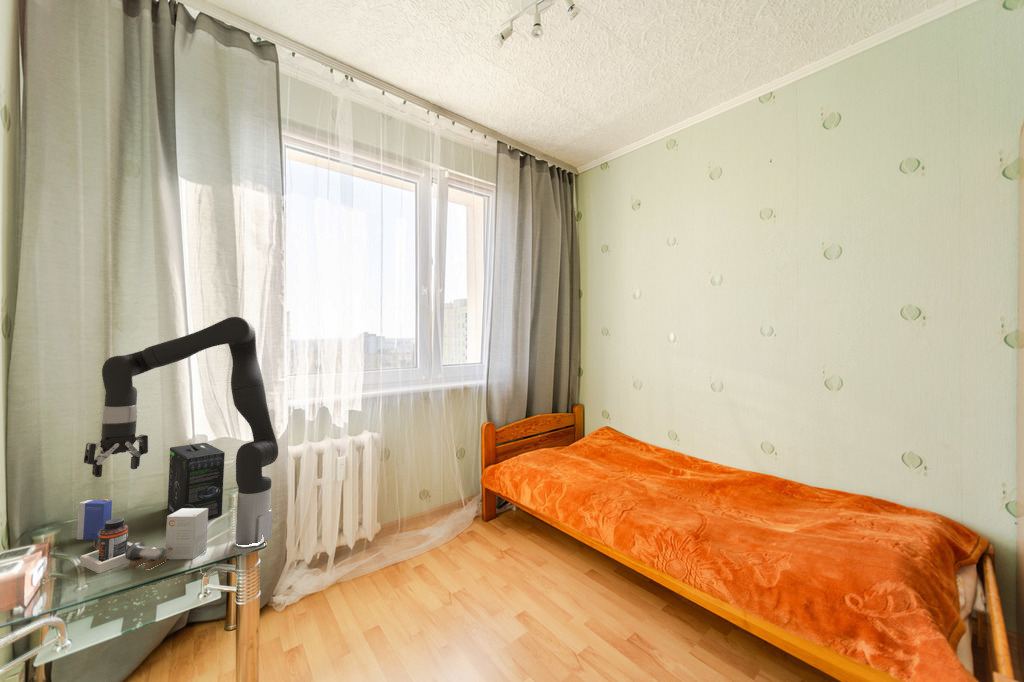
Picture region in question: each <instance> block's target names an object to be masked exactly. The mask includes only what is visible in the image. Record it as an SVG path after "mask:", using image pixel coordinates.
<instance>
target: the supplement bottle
mask: <svg viewBox="0 0 1024 682" xmlns="http://www.w3.org/2000/svg"><path fill="white" fill-rule="evenodd" d="M124 523H125V518H124V517H115V518H111V520H108V521H106V522H105V528H104V529H103V530H102V531H101V532H100V540H99V561H101V562H103V561H106V560H109V559H111V558H114V557H117V556H119V555H122V554H125V553H126V551H127V542H129V541H128V540H129V526H128V525H127V524H124Z"/></svg>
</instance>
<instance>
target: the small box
mask: <svg viewBox="0 0 1024 682" xmlns="http://www.w3.org/2000/svg"><path fill="white" fill-rule="evenodd" d="M208 523H209V519H208V508H182V509H180V510H178V511H176V512H174V513H172V514H171V513H170V514H168V515H167V516H166V529H165V531H166V532H165V545H164V547H165V548H164V549H165V550H166V552H165V555H166V559H169V560H194V559H195V558H196V557H198V556H199V555H200V554H202V553H203V552H204V551H206V550H207V546H208V544H207V543H208ZM201 552H202V553H201ZM194 557H195V558H194ZM193 558H194V559H193Z"/></svg>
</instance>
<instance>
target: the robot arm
mask: <svg viewBox="0 0 1024 682" xmlns="http://www.w3.org/2000/svg"><path fill="white" fill-rule="evenodd" d="M256 335H257V334H256V330H255V327H254V325H253V324H252V323H251V322H249V321H248V320H246V318H243V317H239V316H231V317H227V318H225V319H222V320H220V321H218V322H216V323H214V324H212V325H210V326H207V327H205V328H202V329H200V330H198V331H196V332H193V333H189V334H187V335H184V336H181V337H177V338H174V339H173V338H172V339H171V340H166V341H164V342H163V341H162V342H161V343H157V344H153V345H151V346H148V347H146V348H144V349H143V350H139V351H137V352H133V353H129V354H124V355H115V356H111V357H109V358H107V359H106V360H105V362H104V363H103V365H102V367H101V369H102V370H101V377H102V383H103V387H104V391H105V395H104V396H105V397H104V408H103V410H102V411H103V412H102V422H101V434H100V435H101V439H100V441H98V442H86V444H85V449H84V450H85V451H84V457H83V463H84V464H88V465H92V471H91V474H92V475H93V476H94V477H95V478H101V477H102V476H103V464H102V463H103V462H105V460H106V459H108V458H109V457H110V456H111V455H117V454H119V453H129V454H130V455H131V457H130V469H131V470H137V469H138V467H140V463H141V461H140V460H141V456H143V455H146V454H148V453H149V435H146V434H139V435H138V436H137V435H136V433H137V420H138V407H137V403H138V401H137V400H138V389H137V388H136V386H133V377H136V376H138V375H140V374H141V375H142V374H144V373H147V372H148V371H151V370H154V369H157V368H161V367H165V366H167V365H171V364H174V363H176V362H177V363H178V362H179V361H182V360H183V361H184V360H185V359H187V358H189V357H191V356H193V355H195V354H198V353H200V352H202V351H204V350H207V349H210V348H213V347H217V346H218V347H219V346H222V345H228V347H229V350H230V355H231V360H232V366H231V367H232V369H231V376H230V391H231V395H232V400H233V405H234V407H235V408H236V410H237V411H238V412H239V414H240V415H241V416H242V417H243V418H244V420H245V421H246V422H247V424H248V425H249V427H250V430H251V434H252V438H253V441H250V442H246V443H243V444H242V445H241V446H240V447H239V448H238V449H237V452H236V456H235V481H236V485H237V488H238V489H237V490H238V491H237V506H236V508H237V509H236V522H235V523H236V524H235V525H236V526H235V543H236V544H238V545H249V544H252V543H258V542H260V541H261V539H262V535H263V537H264V541H265V542H264V543H266V542H268V541H269V540H270V539H272V532H273V516H274V515H273V514H274V511H273V509H271V499H272V498H271V497H272V494H271V493H272V479H271V478H270V477H269V476H266V475H265V476H263V467H267V466H270V465H272V464H273V463H275V462H276V461H277V458H278V456H279V445H278V442H277V438H276V435H275V432H274V428H273V425H272V422H271V418H270V412H269V407H268V403H267V397H266V396H267V394H266V390H265V384H264V379H263V375H262V370H261V367H260V364H259V359H258V354H257V338H256V337H257V336H256ZM136 442H137V443H138V449H137V448H136V447H135V446H134V444H135V443H136ZM99 447H100V448H101V449H100V450H99V452H98V453H97V454H96V451H97V450H98V449H99ZM95 455H96V456H95Z"/></svg>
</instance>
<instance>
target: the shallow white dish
mask: <svg viewBox="0 0 1024 682" xmlns="http://www.w3.org/2000/svg"><path fill="white" fill-rule="evenodd" d="M132 544H133V543H132V542H131V541H128V542H127V549H128V548H129V547H130V546H131V545H132ZM125 554H126V553H125ZM125 554H122V555H119V556H117V557H114V558H111V559H109V560H106V561H103V562H101V561H99V550H97V551H96V550H94V551H92V552H89V553H86V554H82V555H80V558H79V559H80V560H79V561H80V562H79V563H80V564H79V565H80V566H82V567H84V568H86V569H88V570H91V571H92V572H94V573H97V574H102V573H103V572H106V571H109V570H112V569H114V568H116V567H119V566H122V565H124V564H127V563H129V561H130V560H127V559H126V557H125Z"/></svg>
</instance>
